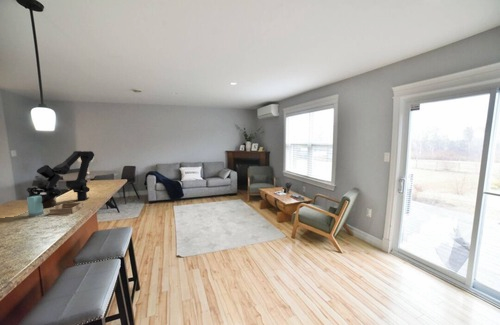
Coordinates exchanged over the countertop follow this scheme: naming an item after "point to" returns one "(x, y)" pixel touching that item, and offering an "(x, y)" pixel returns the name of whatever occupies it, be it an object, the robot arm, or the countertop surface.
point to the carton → (65, 209)
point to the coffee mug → (50, 202)
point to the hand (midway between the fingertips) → (35, 203)
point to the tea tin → (35, 206)
